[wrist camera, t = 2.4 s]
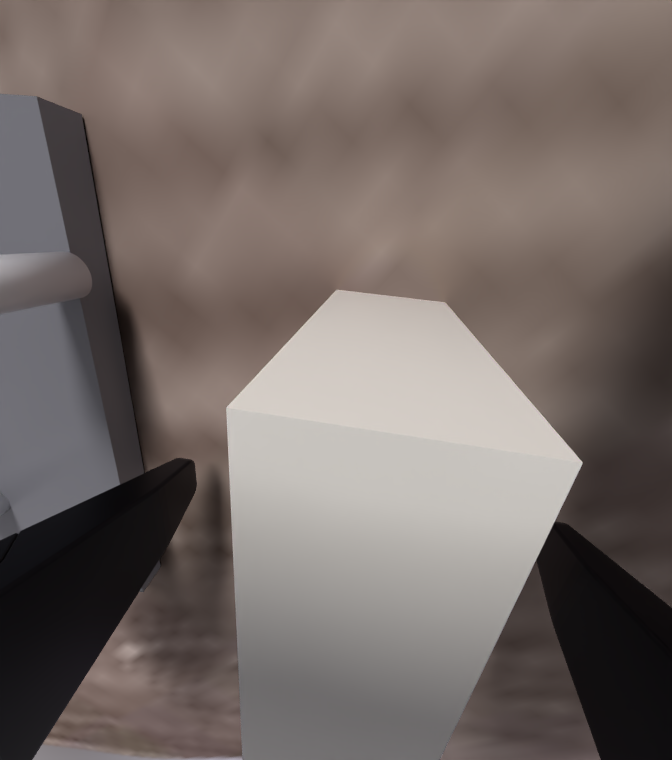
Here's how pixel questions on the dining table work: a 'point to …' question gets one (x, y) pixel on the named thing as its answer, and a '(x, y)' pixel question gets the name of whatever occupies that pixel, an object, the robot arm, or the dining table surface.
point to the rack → (56, 325)
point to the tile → (380, 528)
